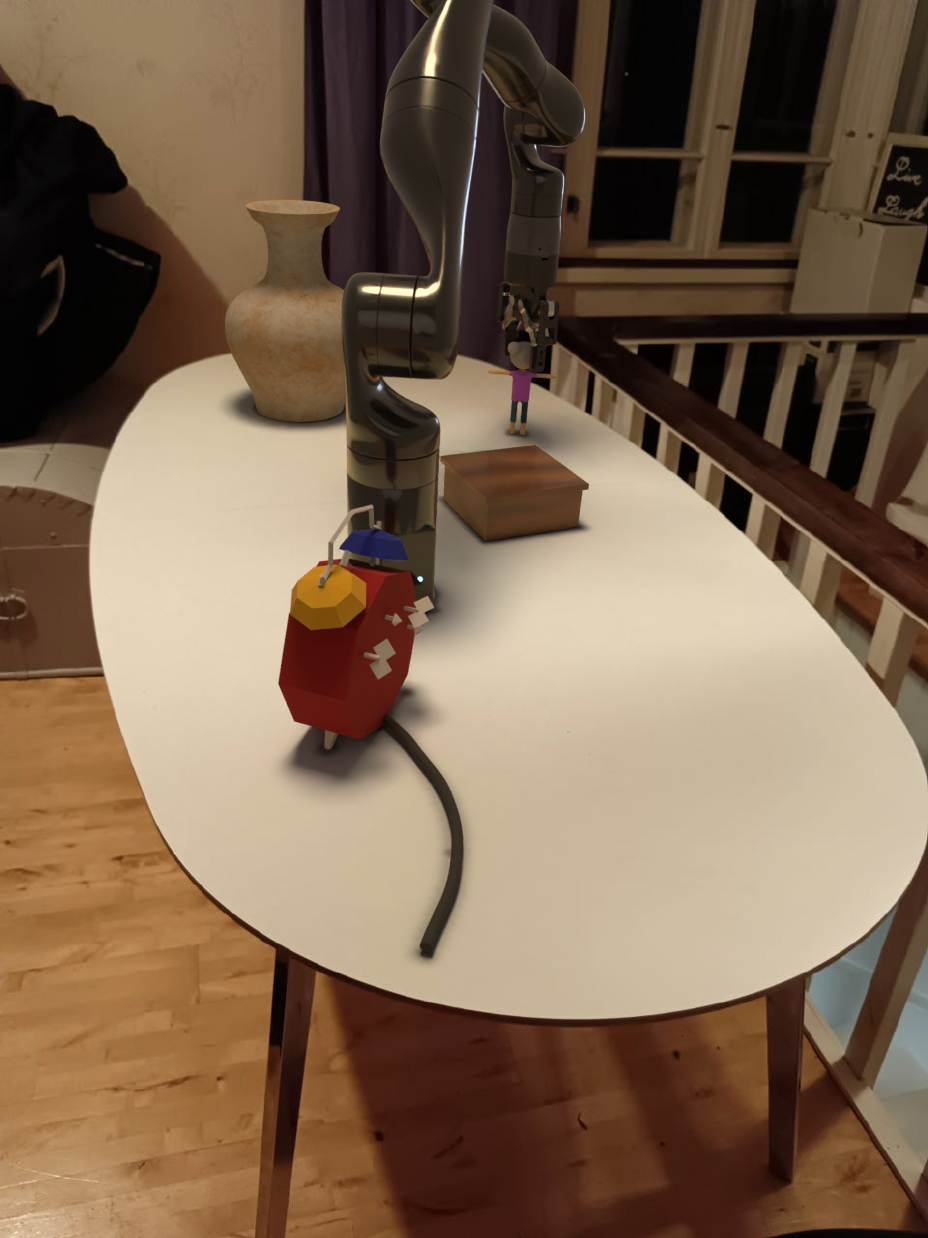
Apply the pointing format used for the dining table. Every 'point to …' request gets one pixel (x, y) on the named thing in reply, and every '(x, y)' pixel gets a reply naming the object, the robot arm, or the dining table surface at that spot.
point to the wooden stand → (512, 491)
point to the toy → (520, 381)
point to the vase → (291, 318)
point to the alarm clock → (351, 635)
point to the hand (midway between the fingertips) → (522, 362)
